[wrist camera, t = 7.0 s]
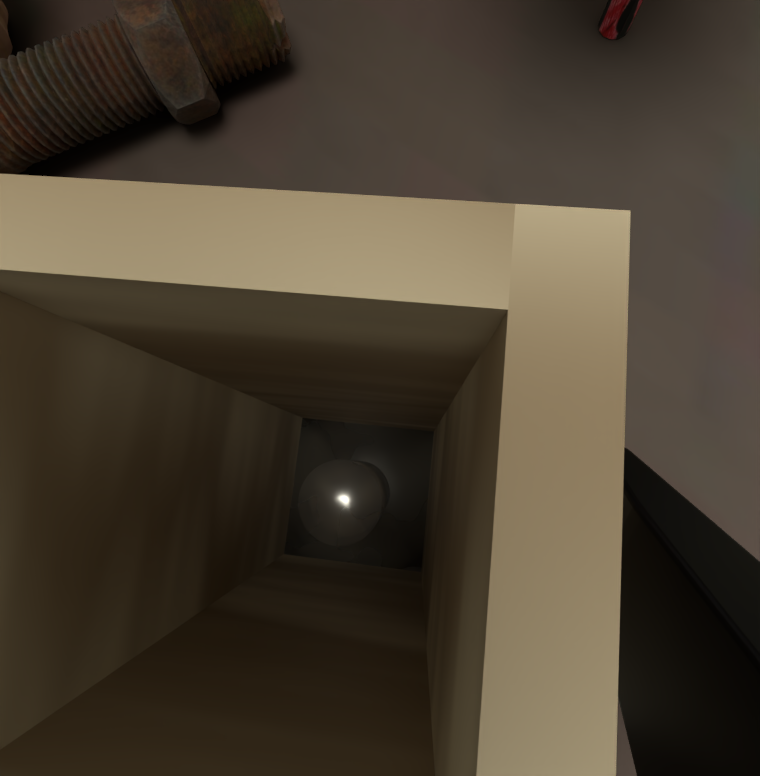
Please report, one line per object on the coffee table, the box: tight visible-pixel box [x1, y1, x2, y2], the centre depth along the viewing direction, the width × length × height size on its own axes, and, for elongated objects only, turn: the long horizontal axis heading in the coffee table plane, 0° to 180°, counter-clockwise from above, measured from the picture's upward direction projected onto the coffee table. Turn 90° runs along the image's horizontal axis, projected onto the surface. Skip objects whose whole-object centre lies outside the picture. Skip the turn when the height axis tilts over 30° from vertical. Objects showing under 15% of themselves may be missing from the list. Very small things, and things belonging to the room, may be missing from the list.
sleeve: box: [0, 174, 630, 776], centre depth 9 cm, size 6×6×12 cm
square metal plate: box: [284, 418, 434, 572], centre depth 14 cm, size 14×14×6 cm
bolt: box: [0, 0, 291, 174], centre depth 18 cm, size 6×5×15 cm
